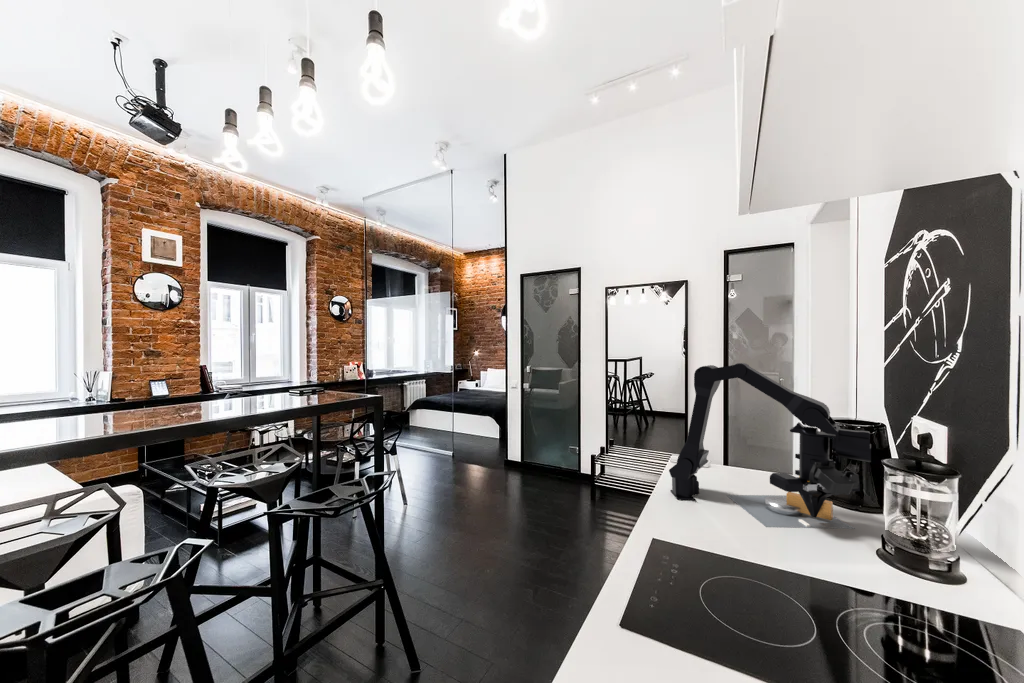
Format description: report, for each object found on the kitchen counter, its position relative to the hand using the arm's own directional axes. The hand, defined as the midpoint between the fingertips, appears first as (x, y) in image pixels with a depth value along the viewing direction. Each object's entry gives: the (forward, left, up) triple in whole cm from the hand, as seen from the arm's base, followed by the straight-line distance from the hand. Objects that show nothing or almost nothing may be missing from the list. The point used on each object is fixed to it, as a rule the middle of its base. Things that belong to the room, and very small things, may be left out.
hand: (813, 516), depth 93 cm
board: (-3, +7, -3) cm, 8 cm away
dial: (-1, +5, -1) cm, 5 cm away
